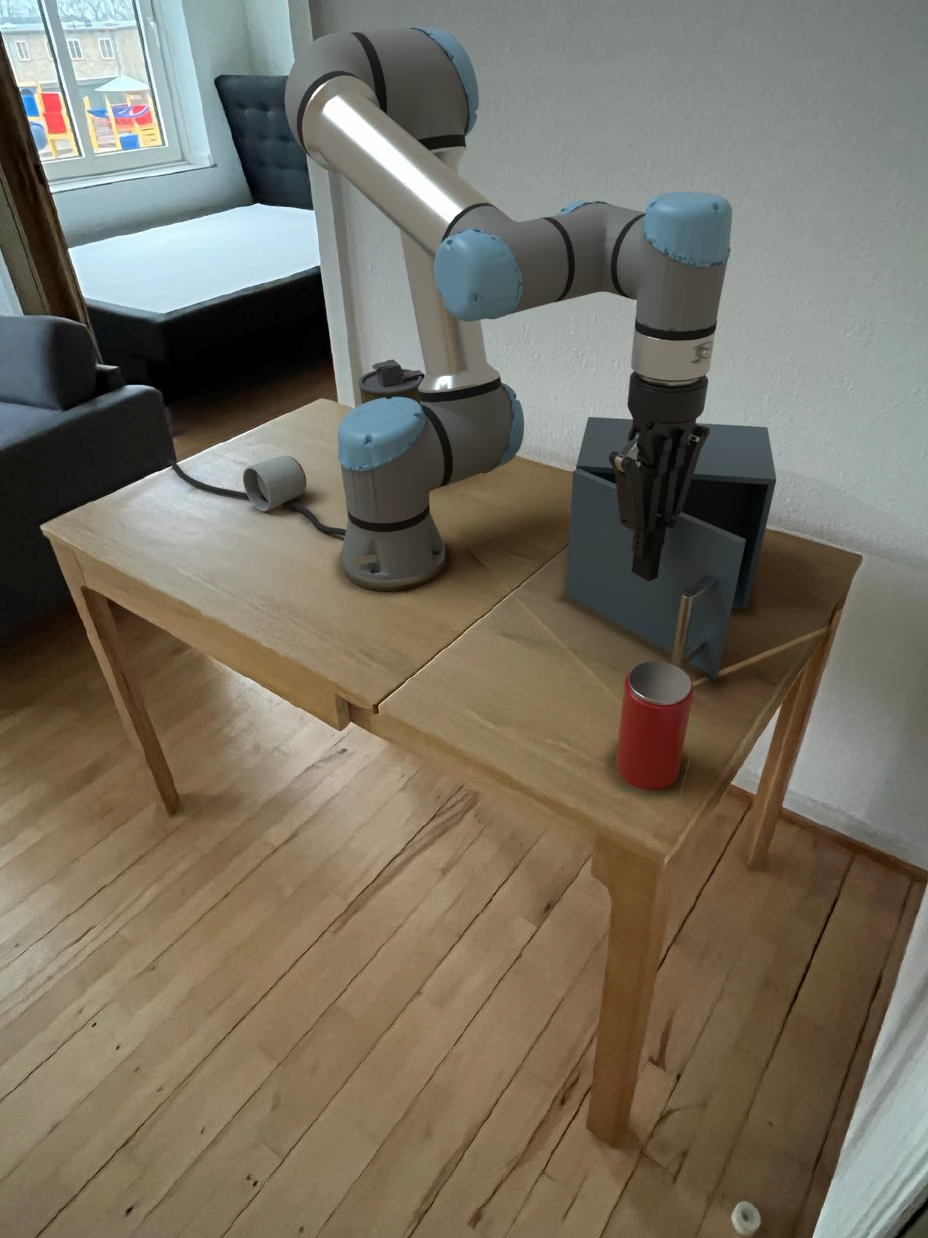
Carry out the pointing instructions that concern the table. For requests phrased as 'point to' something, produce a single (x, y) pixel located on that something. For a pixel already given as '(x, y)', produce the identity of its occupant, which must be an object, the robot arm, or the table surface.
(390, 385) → the canister
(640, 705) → the can
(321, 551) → the table surface
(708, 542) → the fridge door
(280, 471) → the ceramic mug
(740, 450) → the fridge
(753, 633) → the table surface
